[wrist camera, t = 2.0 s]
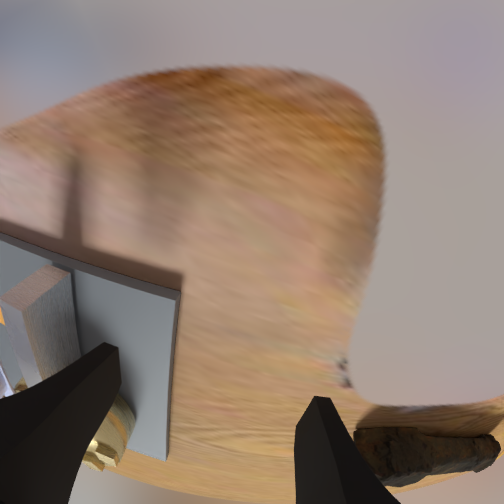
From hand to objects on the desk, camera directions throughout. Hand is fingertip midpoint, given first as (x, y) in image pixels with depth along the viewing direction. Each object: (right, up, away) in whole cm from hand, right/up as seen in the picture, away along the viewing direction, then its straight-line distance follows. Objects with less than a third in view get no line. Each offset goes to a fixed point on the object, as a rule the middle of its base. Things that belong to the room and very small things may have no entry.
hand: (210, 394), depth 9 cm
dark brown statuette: (+16, -11, +8) cm, 21 cm away
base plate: (-11, -2, +6) cm, 13 cm away
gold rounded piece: (-9, -2, +5) cm, 10 cm away
